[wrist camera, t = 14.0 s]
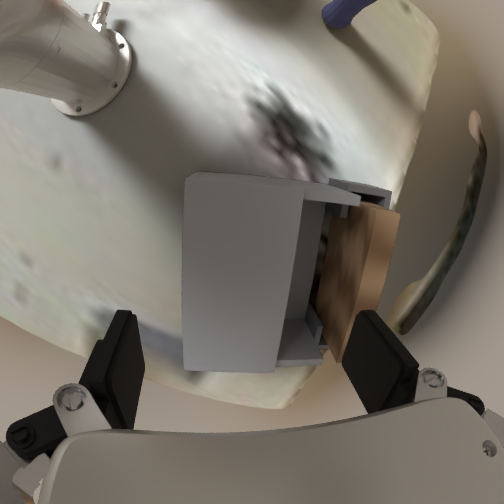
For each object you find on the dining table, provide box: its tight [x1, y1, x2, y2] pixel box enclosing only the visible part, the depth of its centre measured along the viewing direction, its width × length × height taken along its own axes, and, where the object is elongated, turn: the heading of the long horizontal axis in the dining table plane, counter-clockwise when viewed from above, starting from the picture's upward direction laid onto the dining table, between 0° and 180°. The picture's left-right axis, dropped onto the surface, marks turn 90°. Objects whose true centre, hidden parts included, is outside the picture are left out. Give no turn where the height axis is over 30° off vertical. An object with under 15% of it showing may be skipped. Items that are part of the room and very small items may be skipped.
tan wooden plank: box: [314, 199, 400, 363], centre depth 33 cm, size 18×4×11 cm, turn 174°
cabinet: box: [182, 171, 392, 373], centre depth 32 cm, size 22×22×11 cm
